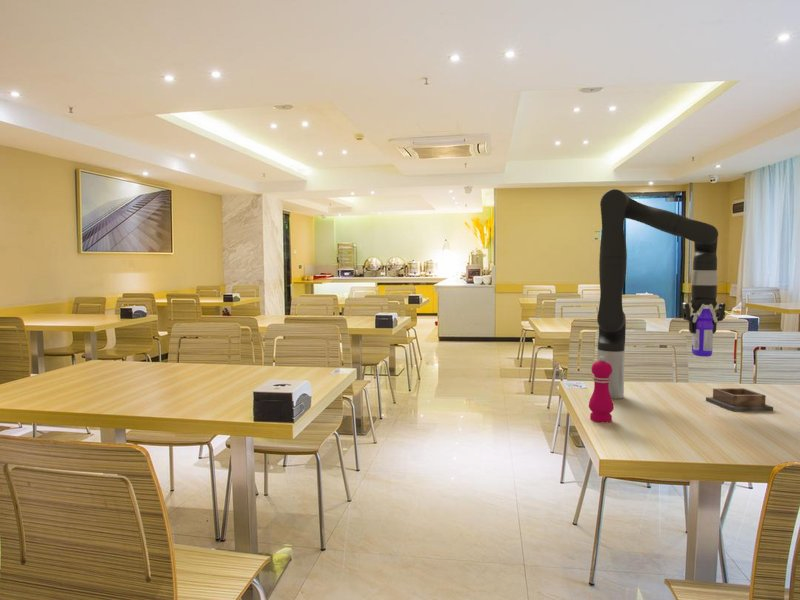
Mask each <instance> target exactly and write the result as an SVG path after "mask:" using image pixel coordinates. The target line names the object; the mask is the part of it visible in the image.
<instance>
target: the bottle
mask: <svg viewBox="0 0 800 600" xmlns="http://www.w3.org/2000/svg"><path fill="white" fill-rule="evenodd" d="M712 319H713V317H712V315H711V312H710V308H709V305H704V309H703V310H702V312H701V314H700V316H699V317H697V320H696V322H695V323H696V333H695V334H692V333H691V334H692V336H691V337H692V338H691V339H692V340H691V341H692V342H691V353H692V354H693V355H694V356H697V357H704V358H705V357H711V356H712V355H713V342H714V340H713V339H714V338H713V337H714V335H713V324H712Z"/></svg>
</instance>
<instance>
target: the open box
mask: <svg viewBox="0 0 800 600" xmlns="http://www.w3.org/2000/svg"><path fill="white" fill-rule="evenodd" d="M766 397H767V395H765V394H762V393H759V392H756V391H752V390H750V389H748V388H742V387H739V388H731V387H729V388H719V387H718V388H712V396H711V397H710V396H708V397H707V396H705V401H706V402H708V403H711V404H713V405H716V406H718V407H720V408H723V409H726V410H727V411H731V412H747V411H748V412H757V411H758V412H762V411H763V412H768V411H769V412H770V411H771V412H773V411H774V406H771V405H769V404H766Z"/></svg>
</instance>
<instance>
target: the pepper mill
mask: <svg viewBox="0 0 800 600" xmlns="http://www.w3.org/2000/svg"><path fill="white" fill-rule="evenodd" d="M591 373H592V374H593V376H592V378H593V379H592V381H593V382H594V383H593V384H594V386H593V387H594V388H593V392H592V394H591V396H590V399H589V402H588V408H589V410H590V413H589V414H590V415H589V416H590V417H589V419H590V420H591V421H592V420H593V422H595V421H596V423H601V422H605V423H604V424H606V422H608V423H611V422H612V419H613V416H612V412H613V411H614V409H615V406H614V405H615V404H614V401H613V399H612V398H611V396H610V393H609V382H610V377H609V376H610V375H611V373H612V367H611V365H610V364H609V363H608V362H605V357H603V356H600V357H599V361H595V362H593V364H592V365H591Z"/></svg>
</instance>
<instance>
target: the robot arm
mask: <svg viewBox="0 0 800 600" xmlns="http://www.w3.org/2000/svg"><path fill="white" fill-rule="evenodd" d="M599 204H600V205H599V206H600V215H601V217H600V218H601V236H600V246H599V261H598V262H599V263H598V264H599V265H598V267H599V268H598V269H599V271H598V272H599V275H598V276H599V278H598V279H599V288H600V290H599V291H600V295H599V296H600V297H599V303H598V313H597V318H596V321H597V324H598V338H597V361H599V357H600V356H603V357H605V362H608V363H609V364H610V365H611V367H612V373H611V375H610V376H609V377H610V382H609V393H610V396H611V398H612V400H614V399H615V400H617V399H623V398H624V396H625V394H624V393H625V347H626V330H627V329H626V327H627V319H626V314H625V312H624V311H623V310H624V309H623V290H624V285H625V281H626V276H627V274H626V273H627V266H628V265H627V264H628V263H627V261H628V259H627V257H628V254H627V251H628V250H627V243H626V236H625V228H624V227H625V226H624V225H625V219H627V220H628V219H629V220H632V221H635V222H638V223H642V224H645V225H646V226H649V227H651V228H654V229H656V230H659V231H661V232H663V233H666V234H670V235H672V236H676V237H679V238H684V239H687V240H689V241H691V242H693V243H694V244H693V245H694V246H693V247H694V248H693V249H694V255H693V261H692V274H691V286H690V287H691V288H690V289H691V291H690V292H691V293H690V295H691V297H690V298H691V301H690V302H682V303H681V308H682V309H681V310H682V317H683V320H684V321H687V322H688V325H689V326H688V331H689V332H690V334H695V333H696V323H695V322H696V320H697V317H699V316H700V314H701V312H702V310H703V309H704V305H709V308H710V312H711V315H712V317H713V319H712V324H713V334H716V332H717V323H718V322H721V321H722V322H723V321H724V315H725V311H726V303H724V302H717V297H718V294H717V293H718V256H717V251H718V250H717V249H718V239H719V230H718V229H717V227H715V226H714V225H713V224H709V223H707V222H703V221H698V220H696V219H691V218H689V217H687V216H684V215H681V214H678V213H677V212H673V211H670V210H666V209H663V208H658V207H654V206H649V205H646V204H644V203H641V202H640V201H636V200H635V199H633V198H631V197H629V196H628V195H627V194H626V193H625V192H624V191H622V190H620V189H617V188H612V189H609V190H607V191H606V192H605V193H603V195H602V196H601V198H600V203H599ZM691 308H692V309H691ZM715 308H716V311H715ZM691 310H692V311H691ZM597 361H596V362H597Z"/></svg>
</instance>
